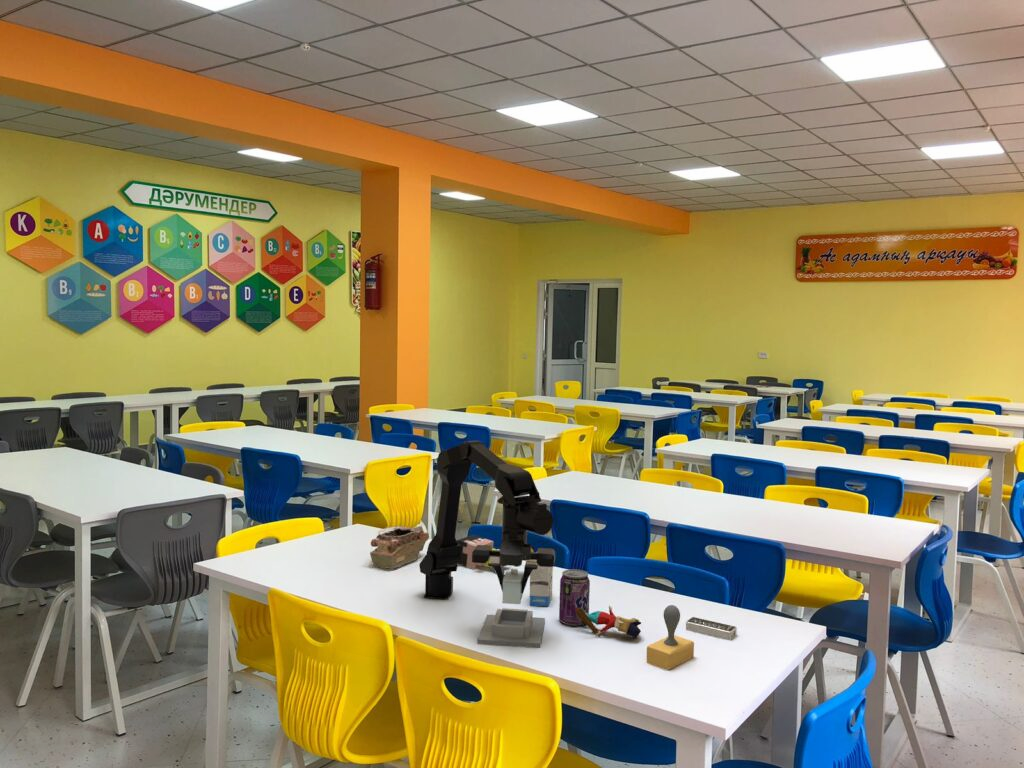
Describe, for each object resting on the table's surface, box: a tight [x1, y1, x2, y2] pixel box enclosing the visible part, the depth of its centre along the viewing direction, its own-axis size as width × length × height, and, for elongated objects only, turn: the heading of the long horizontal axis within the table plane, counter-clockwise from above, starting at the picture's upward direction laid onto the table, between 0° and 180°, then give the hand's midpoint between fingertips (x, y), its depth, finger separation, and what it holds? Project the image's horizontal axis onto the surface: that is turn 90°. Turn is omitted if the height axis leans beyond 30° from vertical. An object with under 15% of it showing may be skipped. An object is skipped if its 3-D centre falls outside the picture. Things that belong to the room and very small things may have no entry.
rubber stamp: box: [645, 604, 695, 671], centre depth 172 cm, size 10×6×12 cm, turn 136°
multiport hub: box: [685, 616, 738, 641], centre depth 189 cm, size 4×11×2 cm, turn 55°
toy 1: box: [456, 534, 500, 570], centre depth 237 cm, size 12×7×15 cm
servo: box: [502, 567, 524, 605], centre depth 185 cm, size 4×8×6 cm, turn 174°
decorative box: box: [369, 526, 430, 570], centre depth 241 cm, size 13×20×10 cm, turn 144°
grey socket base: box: [476, 607, 546, 649], centre depth 186 cm, size 14×16×4 cm
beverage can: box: [558, 568, 591, 627], centre depth 193 cm, size 7×7×12 cm
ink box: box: [529, 565, 554, 607], centre depth 208 cm, size 9×5×12 cm, turn 168°
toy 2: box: [575, 605, 642, 639], centre depth 185 cm, size 9×6×15 cm
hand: (512, 592), depth 185 cm, fingers closed on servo, 4 cm apart
